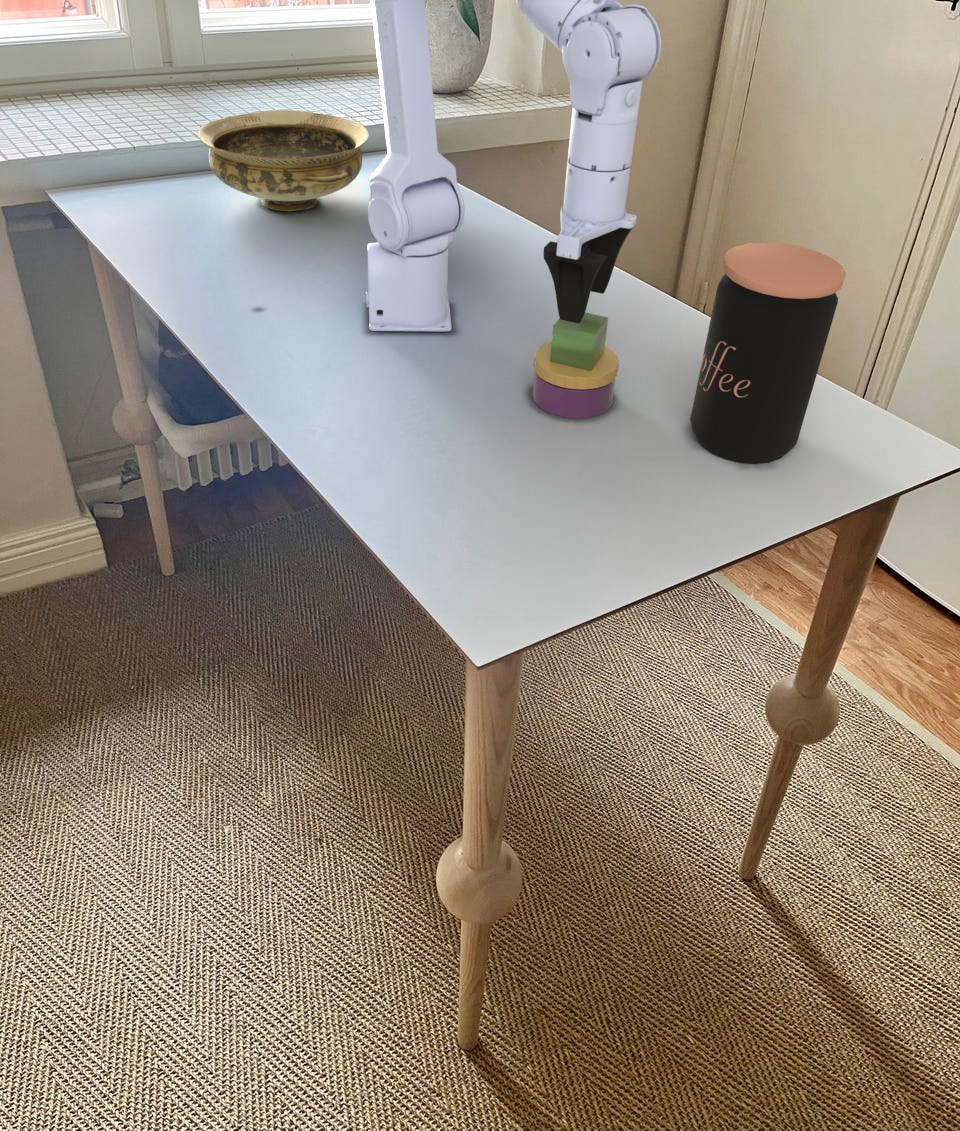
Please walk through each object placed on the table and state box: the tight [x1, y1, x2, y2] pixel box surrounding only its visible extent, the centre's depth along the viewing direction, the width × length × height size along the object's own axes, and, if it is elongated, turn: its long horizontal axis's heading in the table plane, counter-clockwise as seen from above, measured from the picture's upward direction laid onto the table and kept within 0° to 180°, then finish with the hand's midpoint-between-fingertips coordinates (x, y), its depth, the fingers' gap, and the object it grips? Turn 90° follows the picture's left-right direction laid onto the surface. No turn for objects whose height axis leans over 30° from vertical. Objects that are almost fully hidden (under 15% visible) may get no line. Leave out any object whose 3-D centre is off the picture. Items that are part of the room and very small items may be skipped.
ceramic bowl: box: [197, 109, 370, 212], centre depth 141 cm, size 30×24×10 cm
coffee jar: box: [689, 241, 847, 465], centre depth 92 cm, size 11×11×18 cm
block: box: [550, 311, 609, 371], centre depth 98 cm, size 4×4×4 cm
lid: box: [532, 340, 620, 389], centre depth 100 cm, size 9×9×1 cm
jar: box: [531, 370, 616, 420], centre depth 101 cm, size 8×8×4 cm
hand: (582, 305), depth 96 cm, fingers open, 7 cm apart
